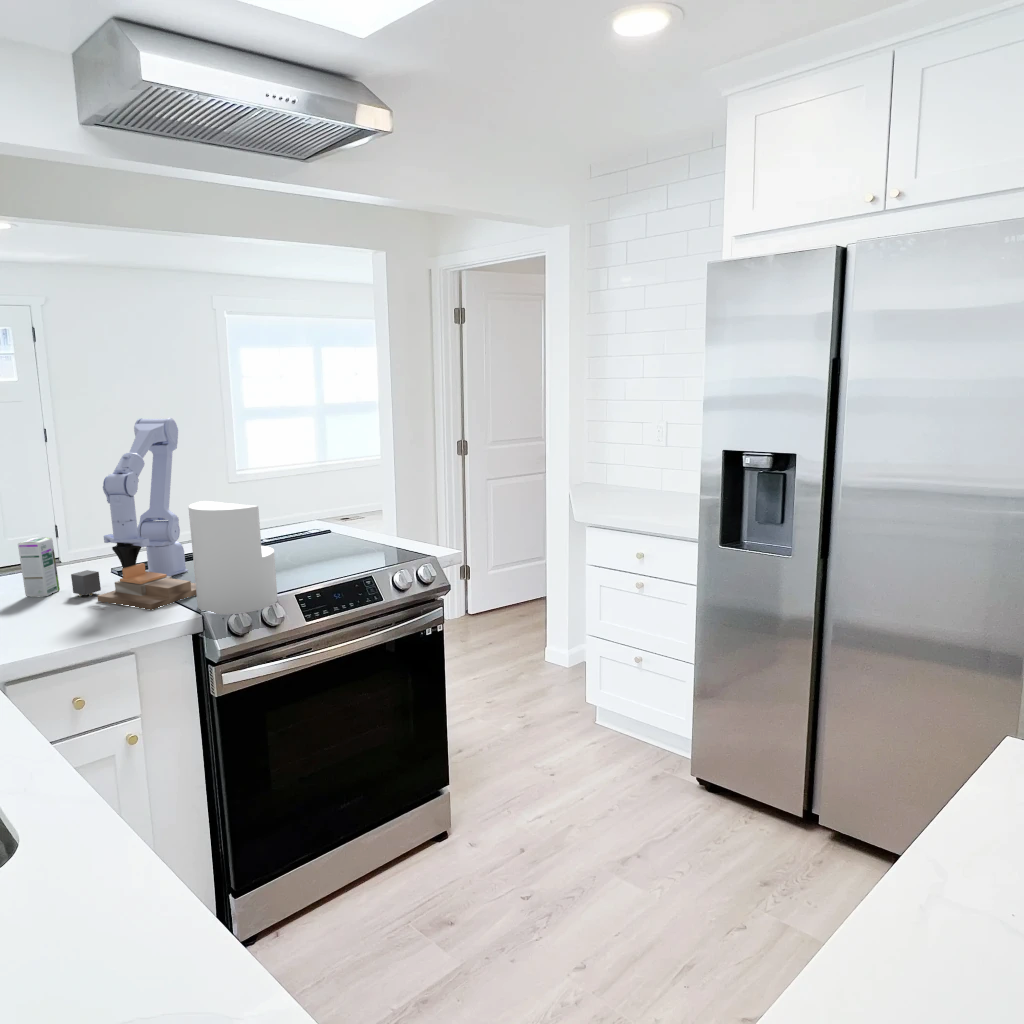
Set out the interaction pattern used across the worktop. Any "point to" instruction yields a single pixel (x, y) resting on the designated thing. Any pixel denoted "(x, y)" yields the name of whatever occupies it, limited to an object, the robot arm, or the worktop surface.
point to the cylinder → (231, 558)
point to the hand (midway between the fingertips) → (129, 571)
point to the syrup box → (38, 567)
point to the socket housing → (150, 593)
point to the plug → (85, 582)
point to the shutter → (139, 574)
